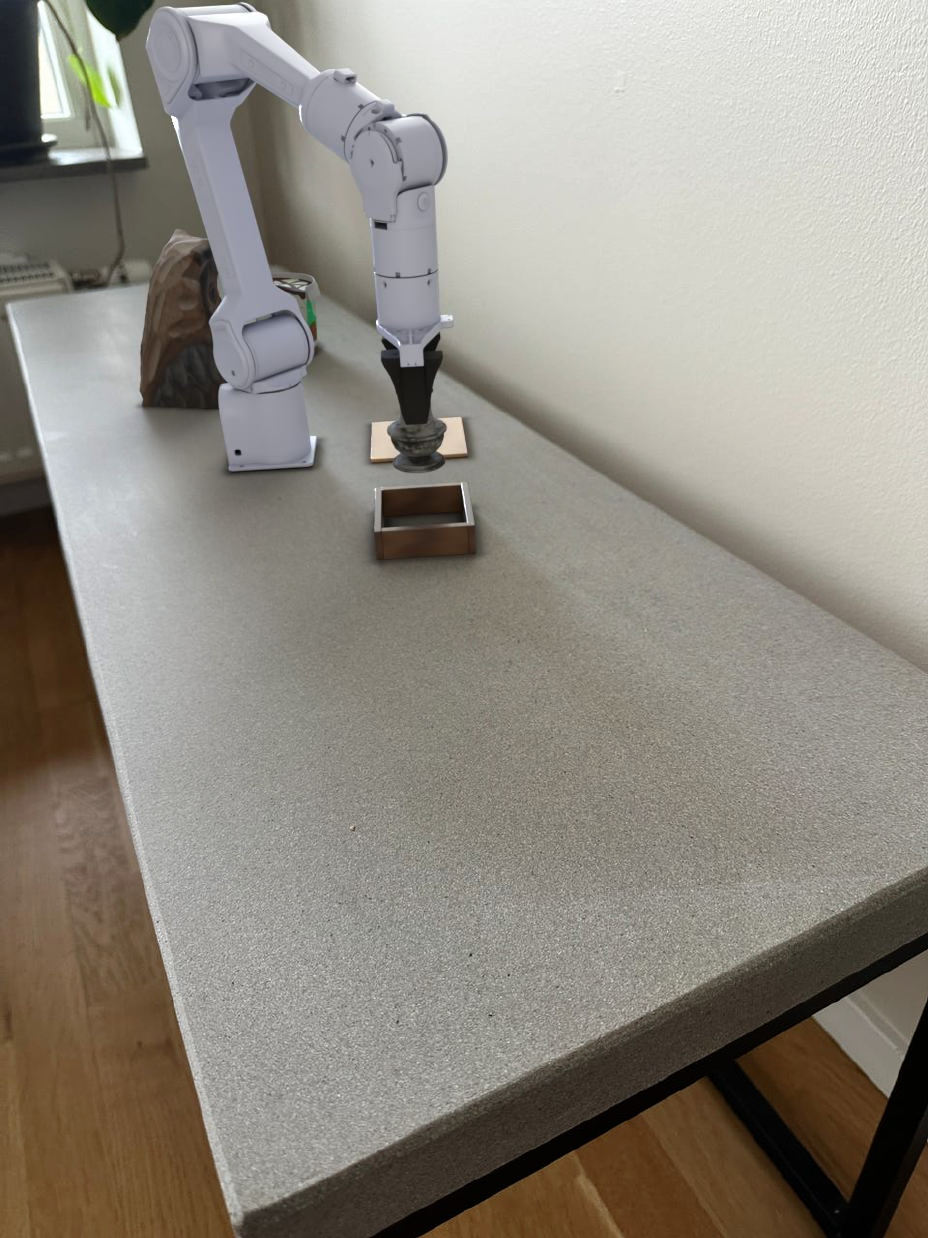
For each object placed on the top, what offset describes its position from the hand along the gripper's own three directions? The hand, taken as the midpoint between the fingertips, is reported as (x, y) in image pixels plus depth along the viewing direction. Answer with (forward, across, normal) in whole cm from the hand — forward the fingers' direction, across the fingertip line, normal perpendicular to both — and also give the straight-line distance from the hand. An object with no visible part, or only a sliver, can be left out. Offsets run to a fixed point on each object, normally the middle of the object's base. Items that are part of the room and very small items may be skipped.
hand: (415, 415), depth 93 cm
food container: (+11, +57, +17) cm, 61 cm away
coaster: (+10, +18, 0) cm, 21 cm away
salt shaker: (+5, 0, 0) cm, 5 cm away
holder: (+10, -5, 0) cm, 11 cm away
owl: (+11, +38, +30) cm, 50 cm away
